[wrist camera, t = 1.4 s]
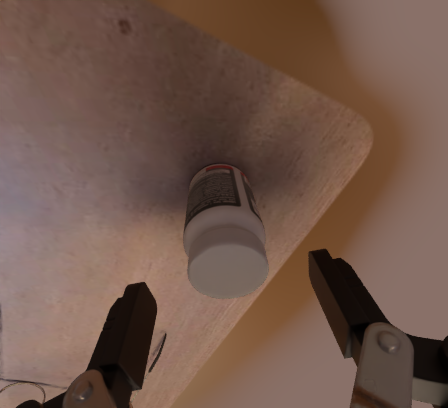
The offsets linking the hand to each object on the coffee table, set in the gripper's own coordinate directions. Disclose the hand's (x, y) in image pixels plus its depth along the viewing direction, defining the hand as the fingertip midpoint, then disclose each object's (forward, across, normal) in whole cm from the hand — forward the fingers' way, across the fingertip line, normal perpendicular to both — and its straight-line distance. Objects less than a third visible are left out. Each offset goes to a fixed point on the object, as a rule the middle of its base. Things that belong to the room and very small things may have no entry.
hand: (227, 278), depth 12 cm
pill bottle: (+9, 0, 0) cm, 9 cm away
